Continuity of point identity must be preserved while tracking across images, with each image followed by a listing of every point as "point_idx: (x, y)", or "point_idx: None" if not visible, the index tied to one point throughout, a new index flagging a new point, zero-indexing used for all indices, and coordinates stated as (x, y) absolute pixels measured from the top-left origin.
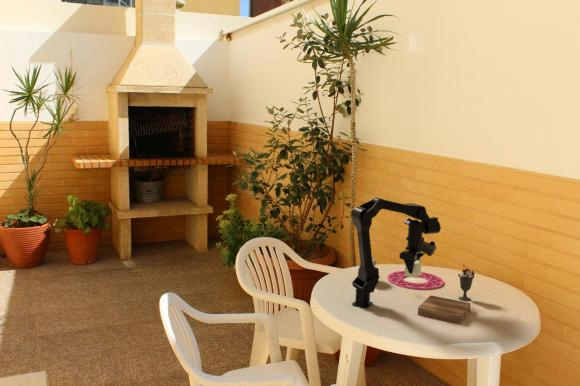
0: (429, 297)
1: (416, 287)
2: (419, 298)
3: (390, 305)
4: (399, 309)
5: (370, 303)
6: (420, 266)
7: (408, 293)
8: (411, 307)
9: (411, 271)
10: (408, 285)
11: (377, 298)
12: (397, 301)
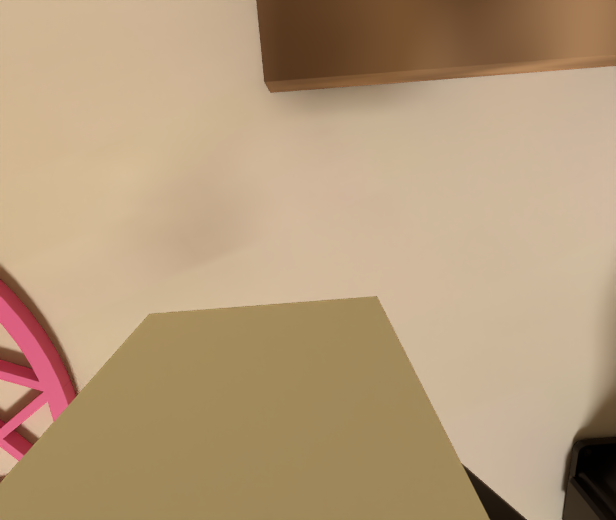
0: (346, 60)
1: (19, 336)
2: (236, 214)
3: (542, 333)
4: (596, 244)
5: (614, 449)
6: (89, 434)
7: None
8: (499, 182)
9: None
10: (28, 405)
11: None
12: (424, 328)
